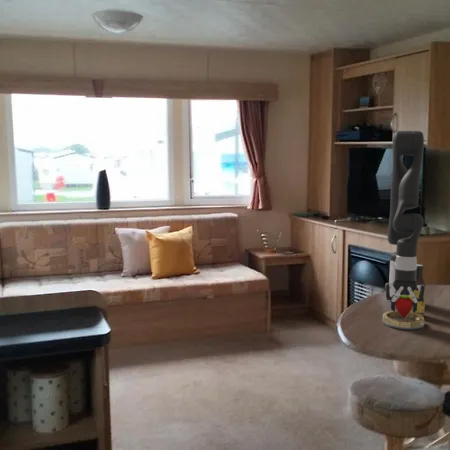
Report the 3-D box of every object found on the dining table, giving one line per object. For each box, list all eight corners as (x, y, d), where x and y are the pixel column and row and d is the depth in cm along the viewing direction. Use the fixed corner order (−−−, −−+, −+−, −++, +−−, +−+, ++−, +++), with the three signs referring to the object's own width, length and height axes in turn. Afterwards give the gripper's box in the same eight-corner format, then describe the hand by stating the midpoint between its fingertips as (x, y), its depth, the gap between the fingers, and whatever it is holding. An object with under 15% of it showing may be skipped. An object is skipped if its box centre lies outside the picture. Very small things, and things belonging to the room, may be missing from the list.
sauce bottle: (425, 318, 224) (427, 267, 221) (408, 317, 225) (410, 266, 223) (422, 313, 231) (425, 263, 228) (406, 312, 232) (408, 263, 229)
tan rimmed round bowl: (380, 316, 226) (381, 309, 226) (420, 318, 223) (421, 311, 223) (384, 328, 212) (384, 321, 211) (426, 331, 209) (427, 323, 208)
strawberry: (390, 317, 217) (391, 291, 215) (401, 313, 222) (402, 288, 220) (405, 321, 212) (406, 294, 211) (415, 317, 218) (417, 291, 216)
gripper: (424, 266, 217) (422, 309, 219) (384, 264, 219) (382, 307, 222) (427, 270, 209) (425, 315, 212) (386, 268, 212) (384, 313, 215)
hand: (403, 311), depth 217 cm, fingers closed on strawberry, 6 cm apart
